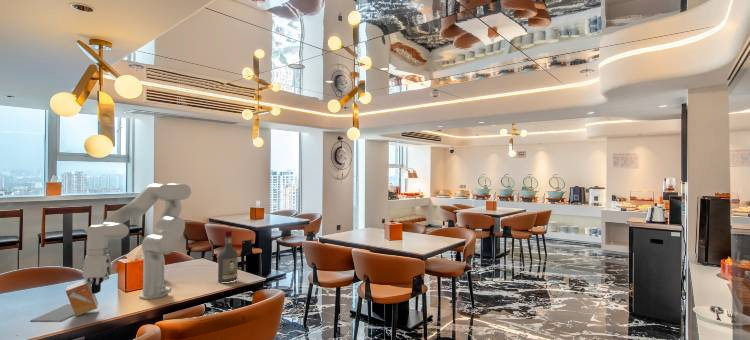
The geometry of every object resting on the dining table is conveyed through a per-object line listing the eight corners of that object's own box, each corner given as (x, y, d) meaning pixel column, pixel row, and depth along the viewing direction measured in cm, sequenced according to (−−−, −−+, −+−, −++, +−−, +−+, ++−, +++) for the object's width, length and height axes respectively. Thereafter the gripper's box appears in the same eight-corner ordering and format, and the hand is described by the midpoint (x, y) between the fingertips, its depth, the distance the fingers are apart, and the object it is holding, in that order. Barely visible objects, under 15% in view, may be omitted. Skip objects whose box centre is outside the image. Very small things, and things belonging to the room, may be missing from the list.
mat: (94, 305, 182) (94, 304, 182) (61, 321, 162) (61, 320, 162) (67, 305, 181) (67, 304, 181) (30, 321, 161) (30, 320, 161)
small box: (75, 317, 167) (64, 291, 164) (77, 311, 172) (66, 285, 169) (97, 308, 171) (87, 283, 168) (98, 303, 176) (88, 278, 173)
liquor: (216, 281, 223) (217, 230, 224) (231, 278, 230) (231, 229, 231) (224, 284, 217) (225, 232, 218) (238, 281, 224) (239, 230, 225)
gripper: (119, 250, 176) (118, 290, 176) (86, 250, 175) (85, 290, 175) (108, 254, 169) (107, 295, 168) (74, 253, 168) (72, 295, 168)
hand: (96, 292), depth 172 cm, fingers closed
